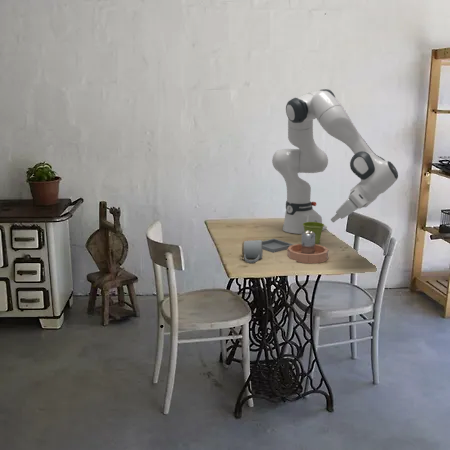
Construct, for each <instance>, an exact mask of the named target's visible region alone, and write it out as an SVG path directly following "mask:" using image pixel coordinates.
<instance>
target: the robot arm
mask: <svg viewBox="0 0 450 450" xmlns="http://www.w3.org/2000/svg"><path fill="white" fill-rule="evenodd" d="M285 113H286V116H287V118H288V119H287V139H288V141H289V143H290V144H291V145H293V146H294V147H296V148H283V149H278V150H276V151H275V152H274V153H273V155H272V159H271V160H272V161H271V162H272V166H273V168H274V169H275V170H276V171H277V172H278V173H279V174H280V175H281V176H282V178H283V179H284V182H285V184H286V202H285V213H284V220H283V221H284V222H283V224H282V231H283V232H285V233H290V234H297V235H298V234H299V235H302V233H303V232H305V231H304V226H303V223H305V222H318V223H322V224H323V219H322V216H321V214H319V213H318V212H317V211H315V210H314V208H313V207H316V206H317V202H316V201H311V195H312V194H311V192H312V189H311V187H312V186H311V185H310V183H309V182H308V181H306V180H304V179H302V178H300V177H299V174H300V173H302V174H304V173H305V174H317V173H322V172H324V171H325V170H326V169H327V167H328V164H329V157H328V155H327V153H326V151H324V150H322V149H321V148H319V146H318V145H317V144H316V142H315V139H314V131H313V130H314V129H313V128H314V120H315V119H316V120H317V122H318V123H319V125H320V126H321V127H322V129H323V130H324V131H325V132H326V133H327V134H328V135H329V136H331V137H332V138H335V139H337V140H338V141H340V142H341V143H343V144H345V146H347V147H348V148H349V149H350V150H351V152H352V153H353V154H354V155H353V156H352V158H351V159H350V162H349V167H350V170H351V172H352V173H353V174H354V175H355V176H357V177H358V178H359V179H360V181H359V182H358V183H356V185H355V186H354V187H352V188H351V189H350V193H349V195H348V197H347V199H345V201H344V202H343V203H342V204H341V205H340V206H339V207H338V208H337V210H336V212H335V214H334V215H333V216H332V217H331V218H330V221H331V223H335V222H336V221H338V220H339V219H344V218H347V217H348V216H349V215H352V213H354V212H355V211H356V210H358V209H359V210H360V209H362V208H367V207H368V206H370V205H371V204H372V203H374V201H376V200H377V198H378V197H379V196H380V195H381V194H384V193H385V192H386V191H387V190H388V189H390V188H391V187H392V186H393V184H395V183H396V181H397V180H398V178H399V173H398V170H397V169H396V167H395V165H394V164H393V163H392V162H391V161H389V160H386V159H385V158H383V157H381V156H379V155H378V154H376V153H375V152H374V151H373V150H372V148H371V147H370V145H368V143H367V142H366V141H365V139H364V138H363V137H362V135H361V134H360V133H359V131H358V129H357V127H356V126H355V125H354V123H353V122H352V119H351V118H350V116H349V114H348V113H347V111H346V110H345V108H344V107H343V105H342V104H341V103H340V101H339V100H338V99H337V98H336V95H335V94H334V92H333V91H332V90H331V89H328V88H327V89H325V88H324V89H319V90H314V91H311V92H308V93H307V92H306V93H305V94H302V95H299V96H297V97H293V98H291V99H290V100H288V101H287V103H286V106H285ZM327 229H328V226H326V225H325V224H324V227H323V229H322V231H324V230H327Z"/></svg>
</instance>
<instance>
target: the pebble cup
mask: <svg viewBox="0 0 450 450" xmlns="http://www.w3.org/2000/svg"><path fill="white" fill-rule="evenodd" d="M300 244H301V253H303V254H315V233H314V232H312V231H311V232H310V231H309V230H307V231H306V232H303V233H302V234H301V242H300Z"/></svg>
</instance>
